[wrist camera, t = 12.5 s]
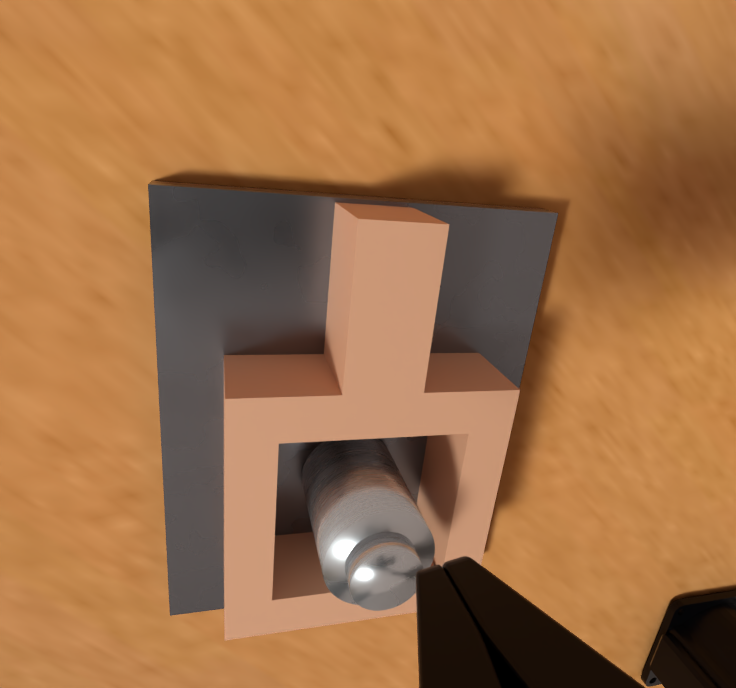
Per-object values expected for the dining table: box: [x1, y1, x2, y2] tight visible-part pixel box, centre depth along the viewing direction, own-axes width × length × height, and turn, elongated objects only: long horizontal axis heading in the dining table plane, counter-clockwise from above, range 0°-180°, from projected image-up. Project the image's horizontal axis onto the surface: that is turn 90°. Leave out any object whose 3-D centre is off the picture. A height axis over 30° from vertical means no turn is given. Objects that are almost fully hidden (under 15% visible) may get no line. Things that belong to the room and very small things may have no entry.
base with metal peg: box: [148, 181, 558, 615], centre depth 17 cm, size 13×16×6 cm
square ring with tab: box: [224, 202, 520, 640], centre depth 18 cm, size 9×14×3 cm, turn 174°
